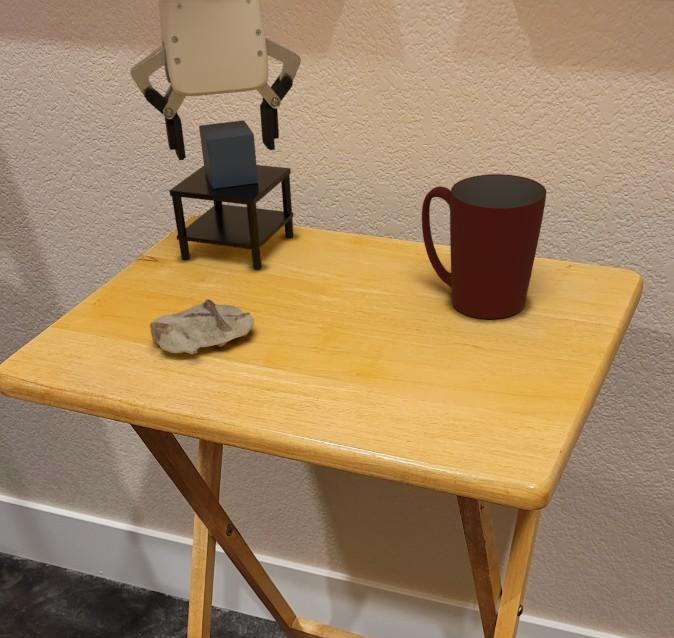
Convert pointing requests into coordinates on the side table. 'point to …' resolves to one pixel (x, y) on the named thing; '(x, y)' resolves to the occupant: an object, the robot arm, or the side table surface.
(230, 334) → the stone
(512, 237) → the mug
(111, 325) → the side table surface
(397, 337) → the side table surface
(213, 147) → the block
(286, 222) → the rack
